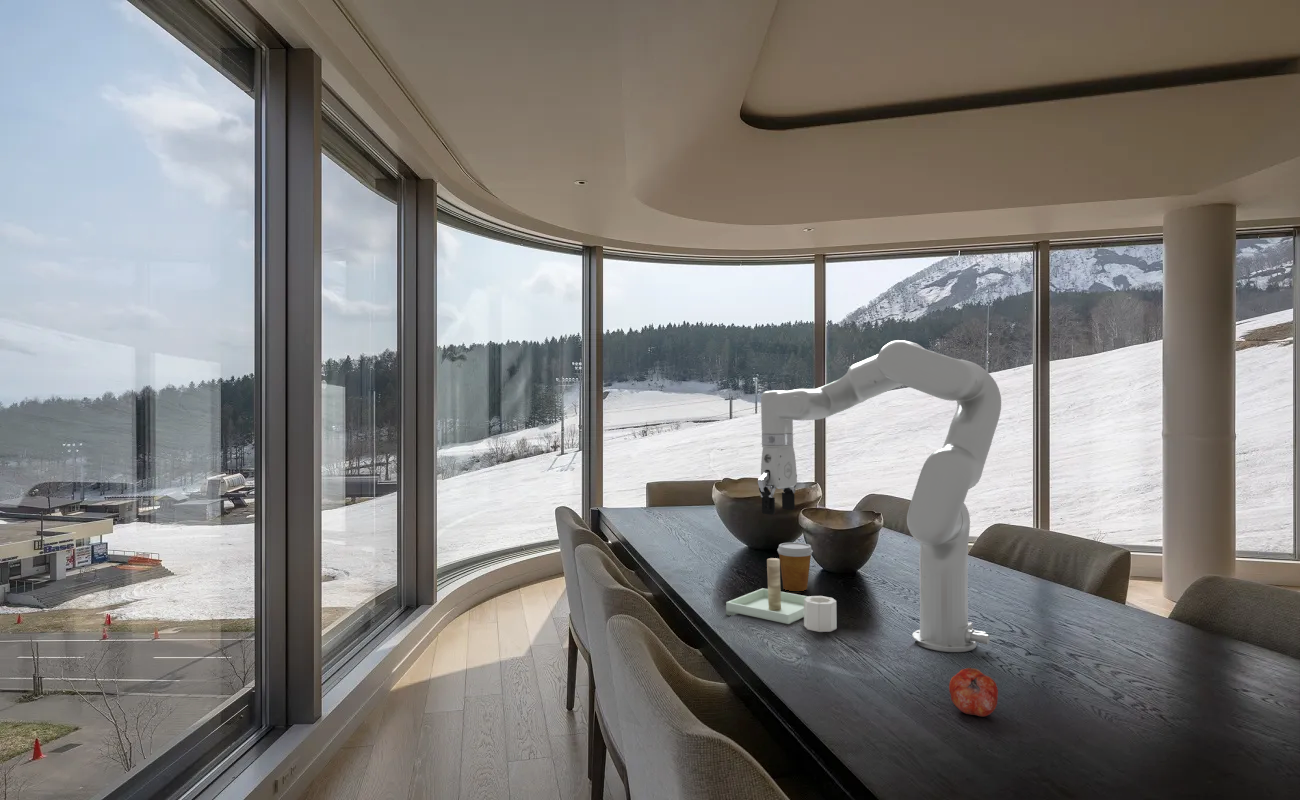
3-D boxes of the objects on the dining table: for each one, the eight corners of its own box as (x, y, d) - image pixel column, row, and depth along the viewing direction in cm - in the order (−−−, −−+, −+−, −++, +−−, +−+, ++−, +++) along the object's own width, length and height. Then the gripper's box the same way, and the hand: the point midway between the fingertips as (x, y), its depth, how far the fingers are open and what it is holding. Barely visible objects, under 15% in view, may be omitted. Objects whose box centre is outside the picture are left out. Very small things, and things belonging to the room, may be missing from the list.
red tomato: (948, 715, 124) (939, 695, 117) (959, 674, 127) (950, 653, 120) (995, 732, 119) (988, 712, 113) (1005, 689, 123) (999, 667, 116)
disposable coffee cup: (810, 585, 203) (810, 542, 203) (815, 594, 194) (814, 549, 194) (776, 584, 204) (775, 542, 204) (778, 593, 195) (778, 548, 195)
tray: (823, 611, 178) (823, 599, 178) (788, 628, 165) (788, 615, 165) (762, 599, 189) (762, 588, 189) (726, 614, 176) (726, 602, 176)
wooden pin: (783, 608, 177) (781, 559, 177) (777, 611, 175) (775, 561, 175) (772, 606, 179) (770, 557, 179) (766, 609, 176) (764, 560, 176)
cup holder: (840, 630, 163) (840, 599, 163) (827, 638, 158) (827, 605, 158) (813, 624, 167) (813, 594, 167) (799, 632, 162) (799, 600, 162)
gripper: (773, 443, 168) (774, 517, 168) (807, 439, 181) (809, 508, 181) (745, 442, 173) (746, 514, 173) (781, 439, 186) (782, 506, 186)
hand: (778, 511), depth 177 cm, fingers open, 9 cm apart
